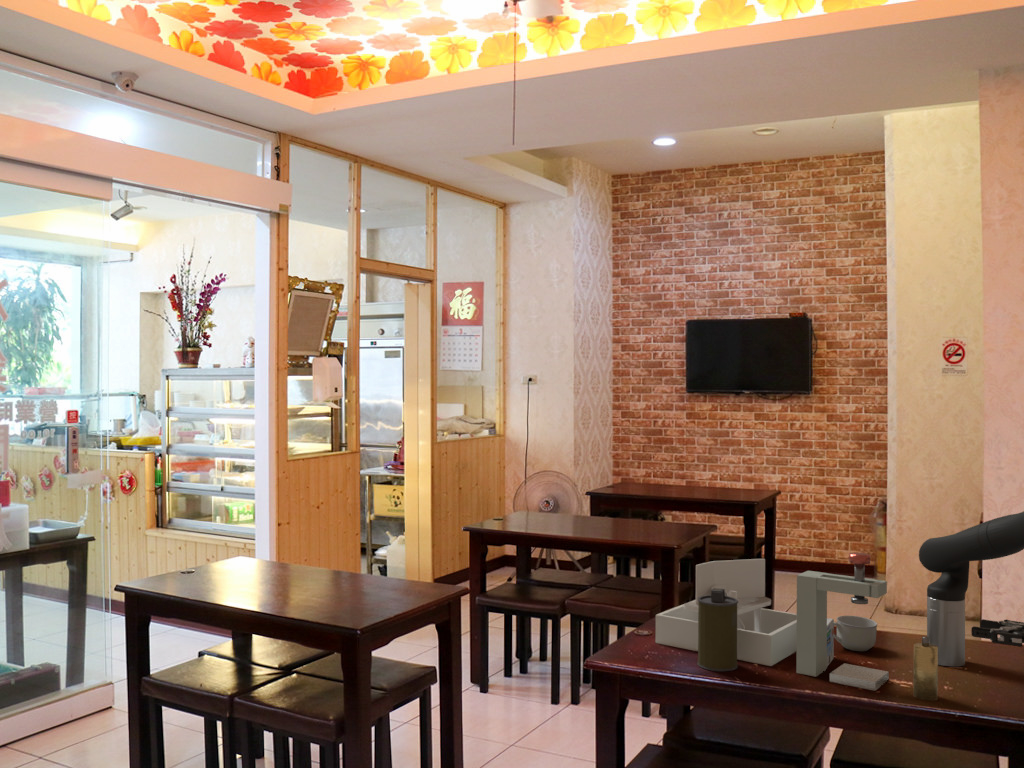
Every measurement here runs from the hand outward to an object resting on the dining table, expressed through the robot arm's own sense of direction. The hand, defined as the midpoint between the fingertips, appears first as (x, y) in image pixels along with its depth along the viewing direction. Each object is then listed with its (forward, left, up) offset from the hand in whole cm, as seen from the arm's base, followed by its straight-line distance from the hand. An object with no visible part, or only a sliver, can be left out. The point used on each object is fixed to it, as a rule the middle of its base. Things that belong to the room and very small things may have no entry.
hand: (976, 627), depth 207 cm
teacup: (-30, -38, -18) cm, 52 cm away
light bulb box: (-12, -41, -18) cm, 46 cm away
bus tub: (-13, -66, -18) cm, 70 cm away
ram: (-2, -27, +1) cm, 27 cm away
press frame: (-2, -31, -18) cm, 36 cm away
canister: (+9, -60, -18) cm, 63 cm away
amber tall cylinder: (0, -11, -18) cm, 21 cm away
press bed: (-2, -27, -18) cm, 33 cm away
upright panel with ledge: (-13, -66, -19) cm, 70 cm away
